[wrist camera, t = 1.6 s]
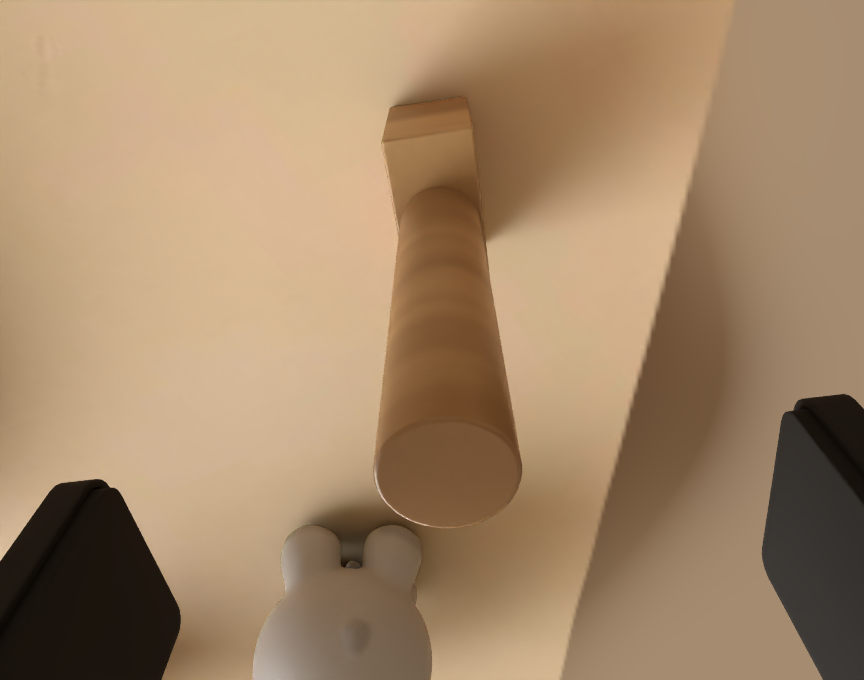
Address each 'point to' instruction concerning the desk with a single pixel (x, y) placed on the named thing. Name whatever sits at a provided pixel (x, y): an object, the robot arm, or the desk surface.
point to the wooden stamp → (442, 332)
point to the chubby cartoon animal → (346, 611)
